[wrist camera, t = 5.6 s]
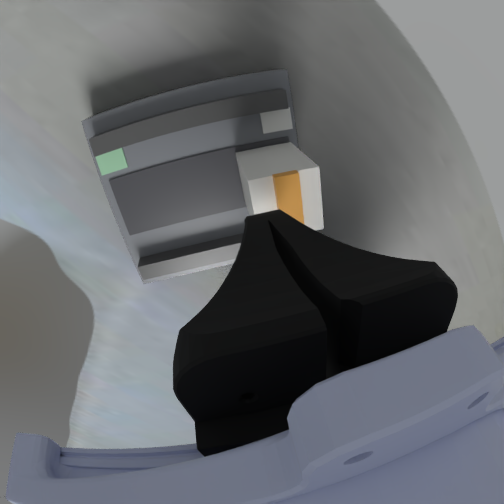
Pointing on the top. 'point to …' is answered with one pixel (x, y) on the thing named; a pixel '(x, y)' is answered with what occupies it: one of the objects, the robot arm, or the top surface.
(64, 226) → the top surface
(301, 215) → the breaker lever
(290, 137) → the breaker panel
